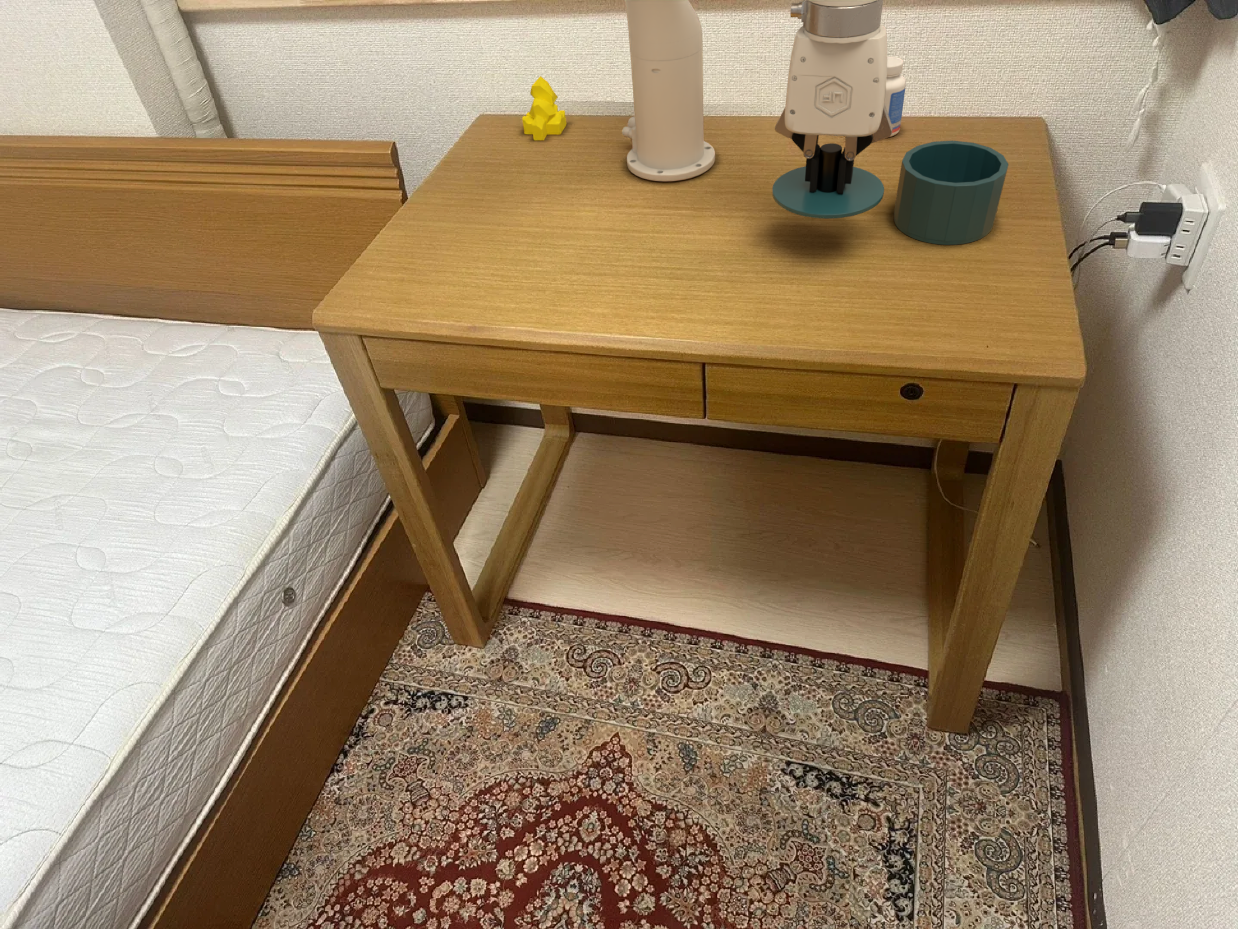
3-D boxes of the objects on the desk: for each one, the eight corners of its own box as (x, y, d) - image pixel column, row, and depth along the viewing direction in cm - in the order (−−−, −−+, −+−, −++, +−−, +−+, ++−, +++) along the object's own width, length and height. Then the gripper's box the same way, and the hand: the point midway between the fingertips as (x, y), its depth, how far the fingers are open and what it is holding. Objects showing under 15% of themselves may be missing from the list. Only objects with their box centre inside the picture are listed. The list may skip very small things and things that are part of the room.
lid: (749, 201, 100) (750, 152, 96) (817, 163, 106) (821, 115, 101) (837, 235, 93) (842, 184, 89) (905, 192, 98) (913, 142, 94)
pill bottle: (897, 122, 126) (907, 52, 119) (902, 138, 122) (912, 67, 115) (858, 123, 126) (866, 54, 120) (862, 139, 123) (871, 69, 116)
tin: (874, 223, 106) (882, 165, 100) (928, 189, 111) (939, 132, 106) (958, 255, 99) (971, 195, 94) (1011, 217, 104) (1027, 158, 99)
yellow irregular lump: (520, 139, 132) (512, 88, 127) (535, 118, 138) (527, 68, 132) (556, 140, 131) (549, 88, 125) (569, 118, 136) (563, 68, 131)
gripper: (756, 27, 85) (752, 198, 98) (924, 29, 81) (897, 208, 94) (769, 3, 90) (764, 169, 103) (929, 3, 86) (902, 177, 99)
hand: (827, 186), depth 98 cm, fingers closed on lid, 2 cm apart
